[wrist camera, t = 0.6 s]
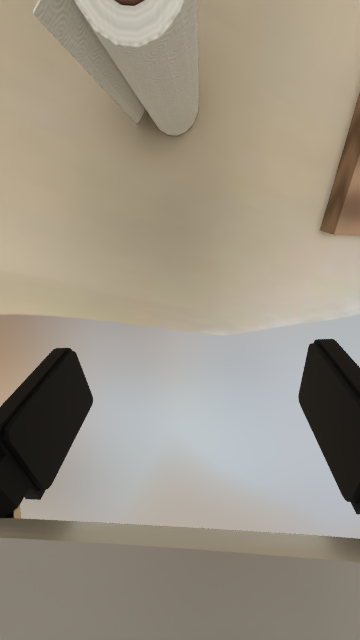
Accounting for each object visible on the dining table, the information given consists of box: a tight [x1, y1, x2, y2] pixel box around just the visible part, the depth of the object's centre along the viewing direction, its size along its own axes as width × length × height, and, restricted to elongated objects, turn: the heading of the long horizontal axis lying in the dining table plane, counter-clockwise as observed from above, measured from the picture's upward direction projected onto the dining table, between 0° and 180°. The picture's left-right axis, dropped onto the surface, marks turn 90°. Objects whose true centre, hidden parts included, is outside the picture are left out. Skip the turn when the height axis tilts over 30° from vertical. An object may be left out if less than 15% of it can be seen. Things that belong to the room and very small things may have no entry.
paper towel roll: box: [32, 0, 199, 136], centre depth 19 cm, size 7×6×21 cm
